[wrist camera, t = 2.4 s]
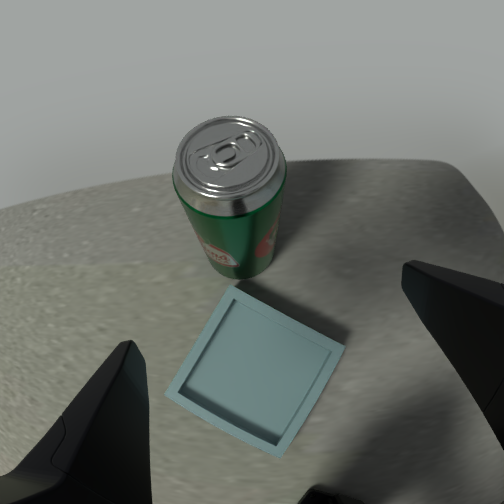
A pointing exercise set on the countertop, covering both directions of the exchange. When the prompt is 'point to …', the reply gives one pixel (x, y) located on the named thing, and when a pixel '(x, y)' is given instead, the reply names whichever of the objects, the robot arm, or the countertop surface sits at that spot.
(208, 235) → the soda can
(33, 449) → the robot arm
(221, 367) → the tray
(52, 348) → the countertop surface
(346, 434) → the countertop surface
